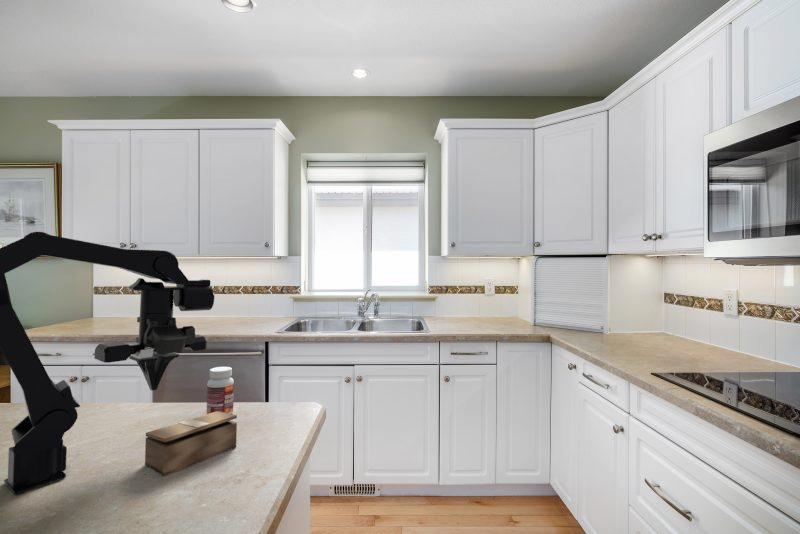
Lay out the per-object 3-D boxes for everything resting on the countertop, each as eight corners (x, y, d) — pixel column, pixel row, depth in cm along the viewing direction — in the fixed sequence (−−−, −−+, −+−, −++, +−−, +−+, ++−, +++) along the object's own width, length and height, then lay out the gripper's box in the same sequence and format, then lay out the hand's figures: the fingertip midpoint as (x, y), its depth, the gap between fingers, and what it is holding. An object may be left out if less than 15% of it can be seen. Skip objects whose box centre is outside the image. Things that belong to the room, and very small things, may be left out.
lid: (165, 442, 68) (165, 438, 68) (145, 436, 72) (145, 432, 72) (236, 418, 80) (236, 414, 80) (216, 414, 84) (216, 410, 84)
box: (164, 476, 68) (165, 447, 68) (144, 465, 72) (145, 437, 72) (236, 447, 80) (236, 422, 80) (216, 438, 84) (216, 415, 84)
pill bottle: (229, 418, 96) (230, 371, 96) (202, 418, 95) (203, 372, 95) (236, 409, 102) (237, 365, 102) (211, 410, 101) (212, 366, 101)
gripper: (118, 319, 67) (114, 410, 67) (222, 312, 82) (219, 387, 82) (95, 314, 74) (91, 397, 73) (195, 309, 89) (192, 378, 88)
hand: (153, 389), depth 79 cm, fingers closed
